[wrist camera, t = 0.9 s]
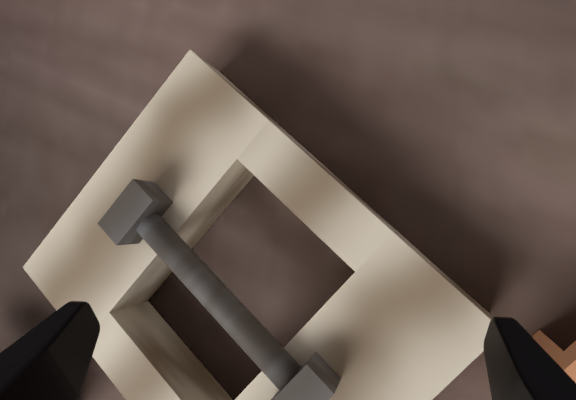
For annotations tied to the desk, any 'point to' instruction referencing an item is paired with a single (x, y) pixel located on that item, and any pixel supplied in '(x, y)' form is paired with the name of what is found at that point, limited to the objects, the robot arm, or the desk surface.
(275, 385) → the beige square frame
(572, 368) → the wooden cross piece
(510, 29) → the desk surface
